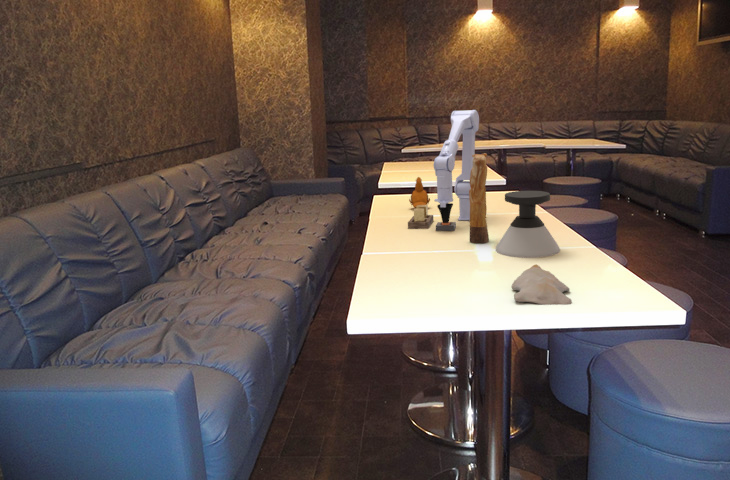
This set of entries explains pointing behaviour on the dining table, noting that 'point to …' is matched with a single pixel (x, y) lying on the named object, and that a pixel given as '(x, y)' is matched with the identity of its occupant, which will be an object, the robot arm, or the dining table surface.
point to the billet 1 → (424, 210)
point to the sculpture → (478, 200)
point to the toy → (419, 194)
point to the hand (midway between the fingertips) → (445, 222)
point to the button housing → (445, 226)
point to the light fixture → (527, 228)
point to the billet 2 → (419, 215)
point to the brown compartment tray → (420, 223)
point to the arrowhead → (540, 287)
